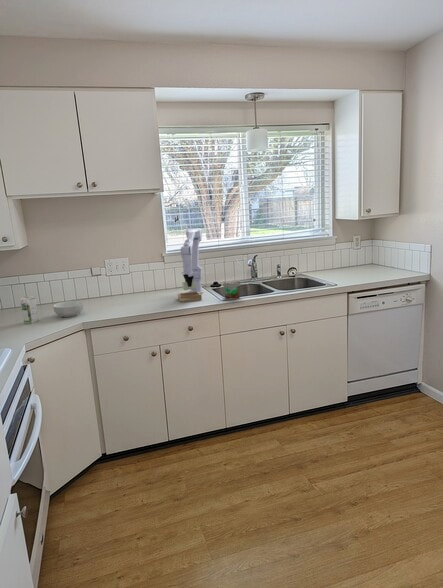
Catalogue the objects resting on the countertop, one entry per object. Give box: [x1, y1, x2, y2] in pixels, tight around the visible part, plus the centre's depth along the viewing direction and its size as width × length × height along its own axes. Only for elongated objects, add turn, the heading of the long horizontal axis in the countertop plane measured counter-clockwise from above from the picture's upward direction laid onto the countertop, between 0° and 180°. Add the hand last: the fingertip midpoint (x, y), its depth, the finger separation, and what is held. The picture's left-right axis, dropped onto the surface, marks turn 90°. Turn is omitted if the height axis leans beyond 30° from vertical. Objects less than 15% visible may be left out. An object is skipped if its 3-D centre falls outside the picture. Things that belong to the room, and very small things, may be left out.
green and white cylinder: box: [19, 295, 39, 324], centre depth 224 cm, size 6×6×14 cm
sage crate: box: [182, 281, 196, 291], centre depth 258 cm, size 5×8×4 cm, turn 105°
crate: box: [177, 291, 203, 303], centre depth 260 cm, size 10×14×4 cm
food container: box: [222, 281, 242, 300], centre depth 257 cm, size 12×6×10 cm, turn 62°
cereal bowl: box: [52, 300, 85, 318], centre depth 235 cm, size 17×17×7 cm
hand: (188, 285), depth 258 cm, fingers closed on sage crate, 5 cm apart
